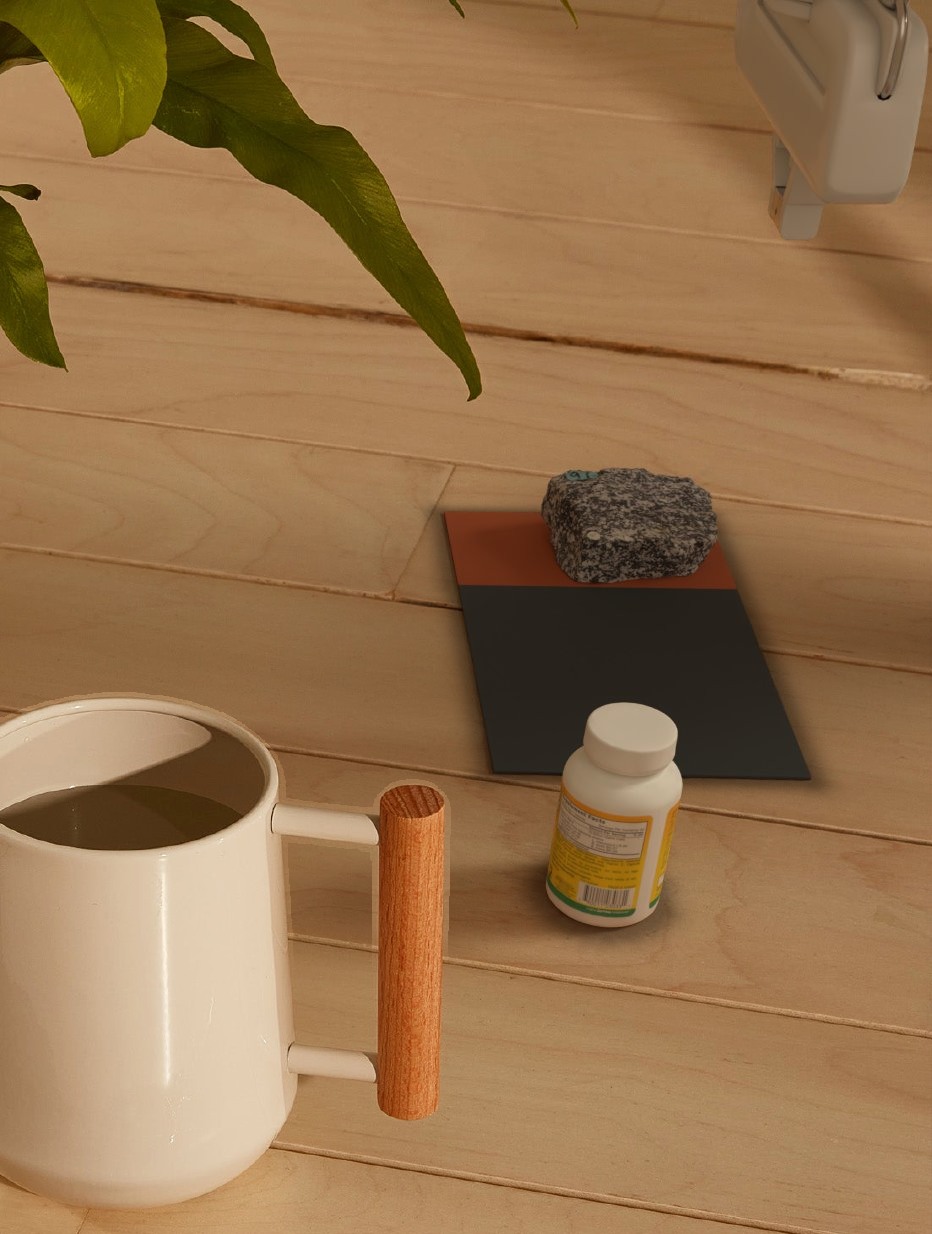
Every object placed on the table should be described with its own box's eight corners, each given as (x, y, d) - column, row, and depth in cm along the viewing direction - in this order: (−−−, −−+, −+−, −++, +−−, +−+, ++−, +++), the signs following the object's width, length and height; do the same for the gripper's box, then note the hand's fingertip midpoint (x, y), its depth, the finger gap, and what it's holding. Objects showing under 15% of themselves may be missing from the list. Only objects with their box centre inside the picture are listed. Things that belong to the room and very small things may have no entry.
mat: (707, 517, 132) (708, 515, 132) (811, 779, 110) (811, 777, 110) (444, 513, 133) (444, 511, 132) (493, 773, 110) (493, 771, 110)
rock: (736, 580, 125) (749, 516, 123) (563, 586, 125) (573, 521, 122) (699, 518, 131) (711, 455, 129) (534, 523, 131) (542, 460, 129)
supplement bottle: (593, 944, 99) (623, 772, 94) (520, 882, 103) (545, 713, 97) (683, 909, 101) (718, 739, 96) (609, 849, 105) (639, 682, 99)
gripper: (990, -6, 88) (913, 316, 96) (867, -127, 104) (810, 158, 113) (833, -7, 88) (769, 314, 97) (735, -127, 104) (687, 157, 113)
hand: (790, 229), depth 105 cm, fingers closed
